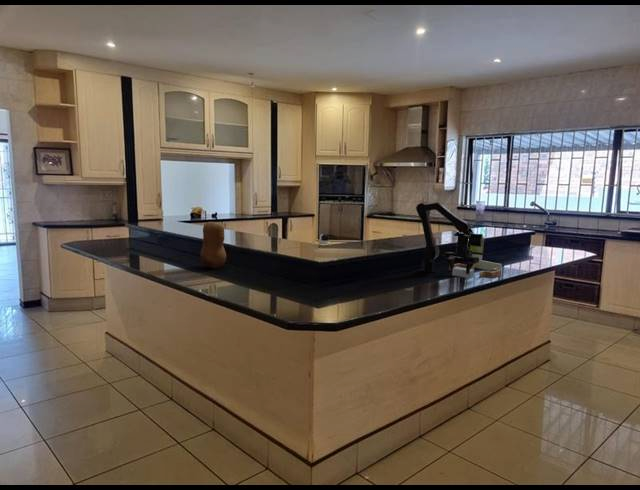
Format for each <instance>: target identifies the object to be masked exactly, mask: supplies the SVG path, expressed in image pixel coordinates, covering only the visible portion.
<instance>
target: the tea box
mask: <svg viewBox="0 0 640 490" xmlns="http://www.w3.org/2000/svg"><path fill="white" fill-rule="evenodd" d="M468 239H469V238H468ZM484 245H485V238H484V237H483V245H482V247H477V246H470V249H469V250H471V251H473V255H472V256H475V257H478V258H479V260H482V261H483V254H484Z"/></svg>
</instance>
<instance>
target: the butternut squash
mask: <svg viewBox="0 0 640 490" xmlns="http://www.w3.org/2000/svg"><path fill="white" fill-rule="evenodd" d="M202 234H203V235H202V236H203V237H202V247H201V250H200V261H201V263H202V264H203V265H204V266H205V267H208V268H210V269H218V268H221V267H222V266H223V265H224V264H225V262H226V260H227V253H226V250H225V247H224V242H225V227H224V225H223V224H222V223H220V222H217V221H208V222H206V223H204V225H203V228H202Z"/></svg>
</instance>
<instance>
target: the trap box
mask: <svg viewBox="0 0 640 490" xmlns="http://www.w3.org/2000/svg"><path fill="white" fill-rule="evenodd" d="M448 265H449V264H448ZM455 267H461V268H466V264H463V263H454V268H455ZM471 269H477V268H476V264H474V265H473V266H472V267H471ZM448 271H451V268H450V265H449V266H448ZM451 272H452V271H451ZM501 276H502V269H501V270H500V268H499V267H498V268H494V269H492V270H491V271H489V270H481V271H479V275H478V277H479V278H484V277H486V278H491V279H494V278H497V277H501Z"/></svg>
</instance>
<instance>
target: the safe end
mask: <svg viewBox="0 0 640 490" xmlns="http://www.w3.org/2000/svg"><path fill="white" fill-rule="evenodd" d="M502 266H503V264H502V263H497V262H492V261H487V260H483V259H482V260H479V262H477V263H476V268H475V269H479V270H483V271H489V272H491V270H492V269H494V268H498V267H499V268H500V270H501V271H502V268H503V267H502Z"/></svg>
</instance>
